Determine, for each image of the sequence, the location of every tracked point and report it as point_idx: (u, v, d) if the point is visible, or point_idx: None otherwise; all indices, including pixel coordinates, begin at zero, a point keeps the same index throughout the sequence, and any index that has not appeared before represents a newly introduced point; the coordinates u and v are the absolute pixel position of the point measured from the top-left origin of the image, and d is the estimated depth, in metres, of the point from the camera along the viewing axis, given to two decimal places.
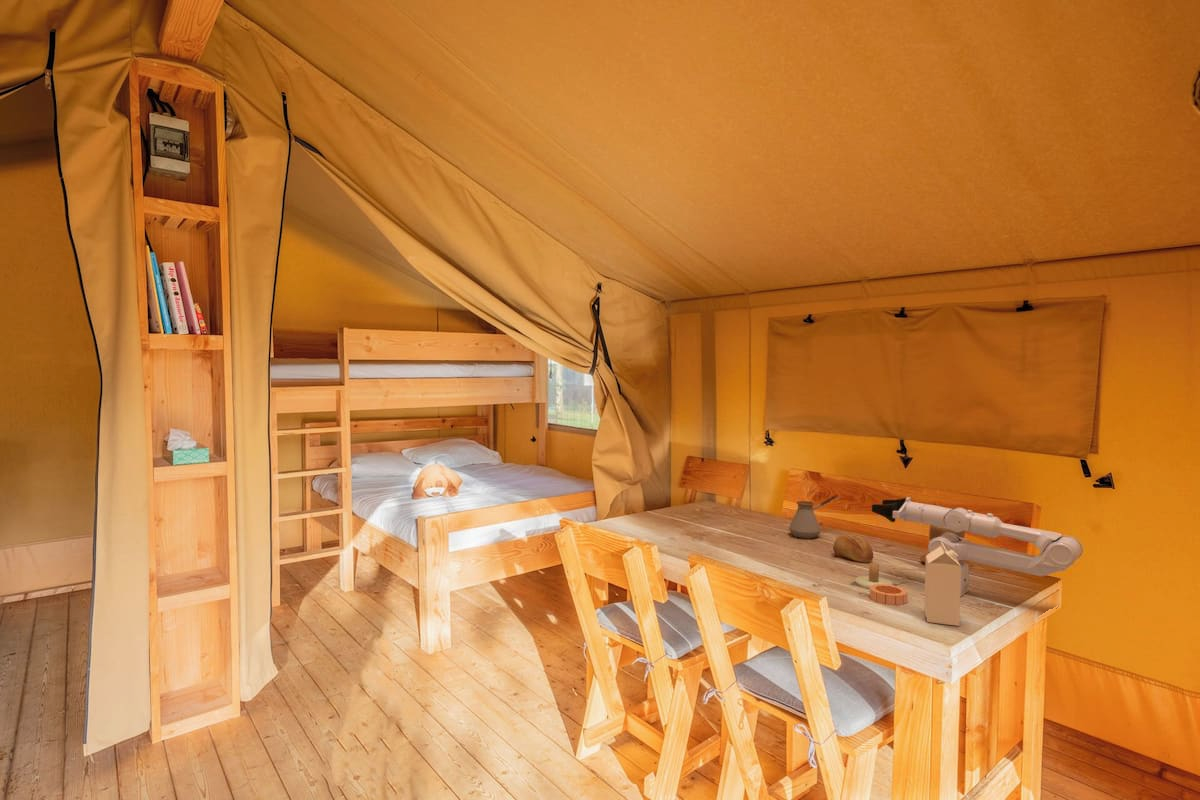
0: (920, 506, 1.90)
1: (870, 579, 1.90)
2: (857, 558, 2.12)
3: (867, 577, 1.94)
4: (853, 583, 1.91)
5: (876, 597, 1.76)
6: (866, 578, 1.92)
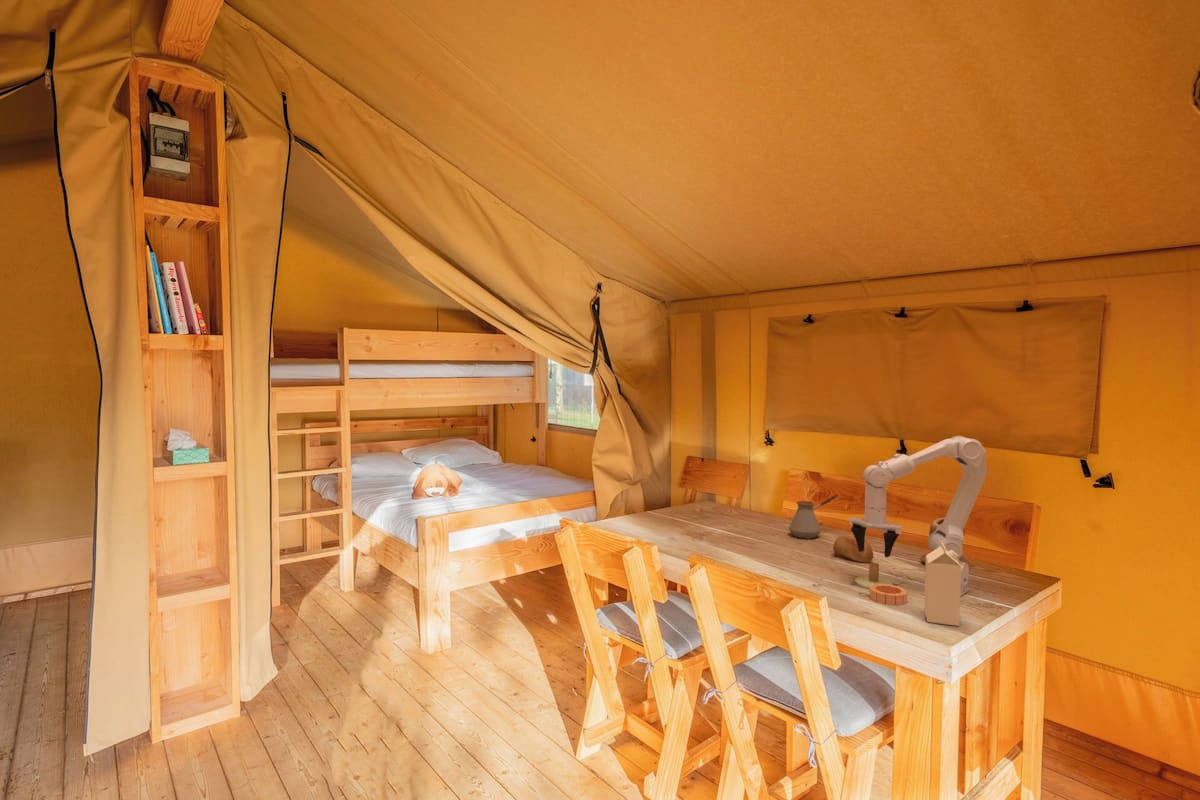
0: (877, 511, 1.87)
1: (870, 579, 1.90)
2: (857, 558, 2.12)
3: (867, 577, 1.94)
4: (853, 583, 1.91)
5: (876, 597, 1.76)
6: (866, 578, 1.92)
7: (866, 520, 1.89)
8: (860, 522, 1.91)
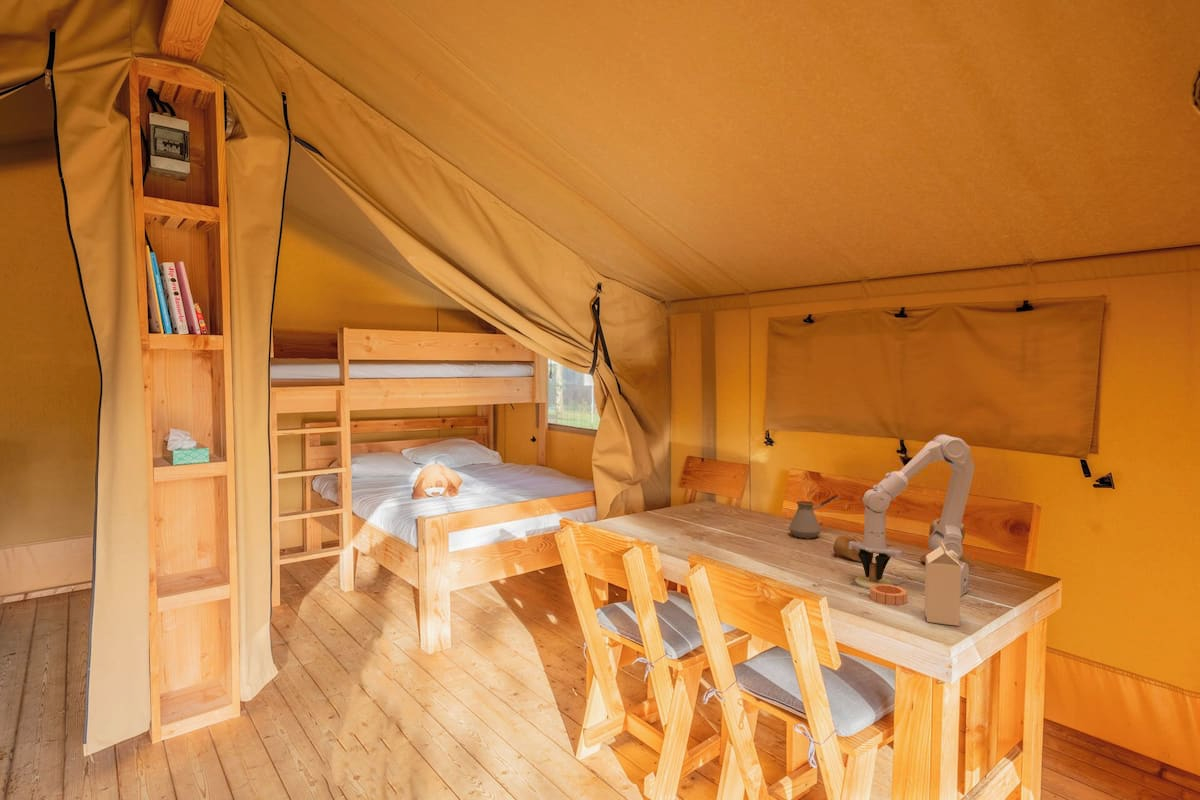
0: (876, 536, 1.87)
1: (870, 579, 1.90)
2: (857, 558, 2.12)
3: (867, 577, 1.94)
4: (853, 583, 1.91)
5: (876, 597, 1.76)
6: (866, 578, 1.92)
7: (865, 544, 1.90)
8: (860, 546, 1.91)
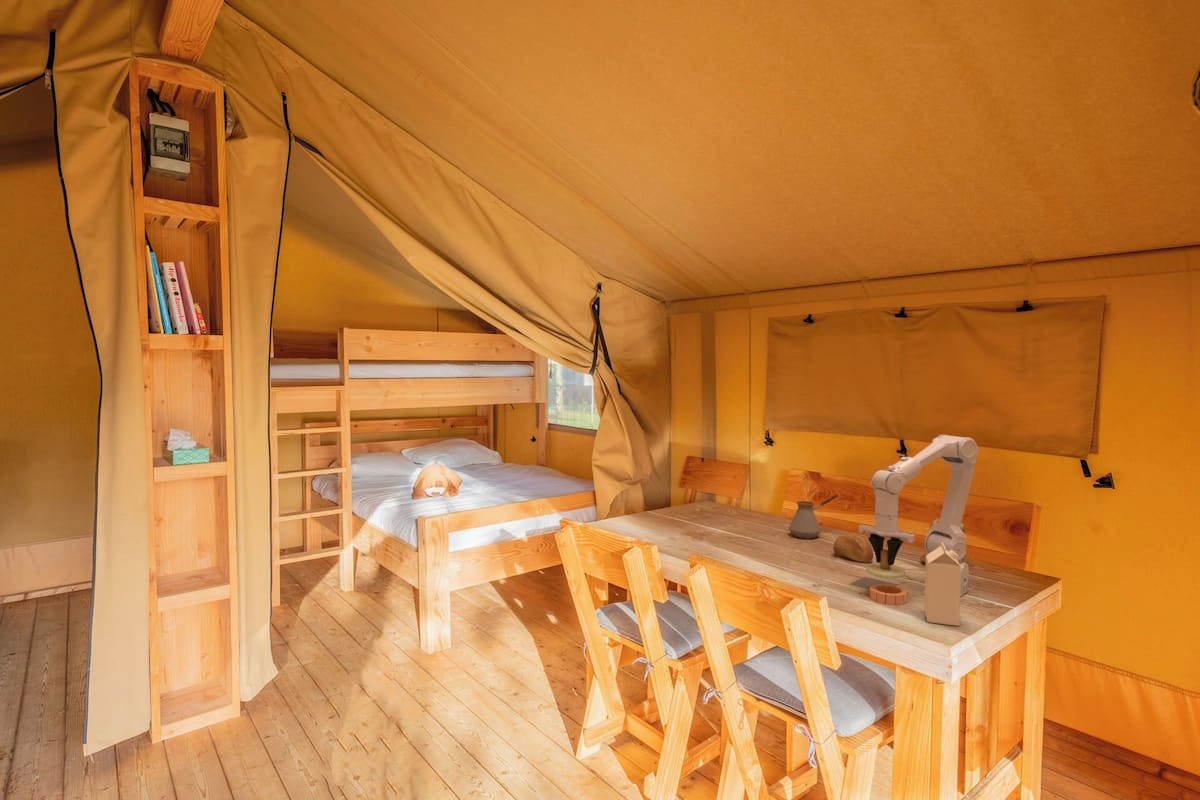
0: (888, 519, 1.78)
1: (882, 567, 1.81)
2: (857, 558, 2.12)
3: (877, 565, 1.84)
4: (853, 583, 1.91)
5: (876, 597, 1.76)
6: (876, 566, 1.83)
7: (877, 528, 1.80)
8: (870, 530, 1.82)
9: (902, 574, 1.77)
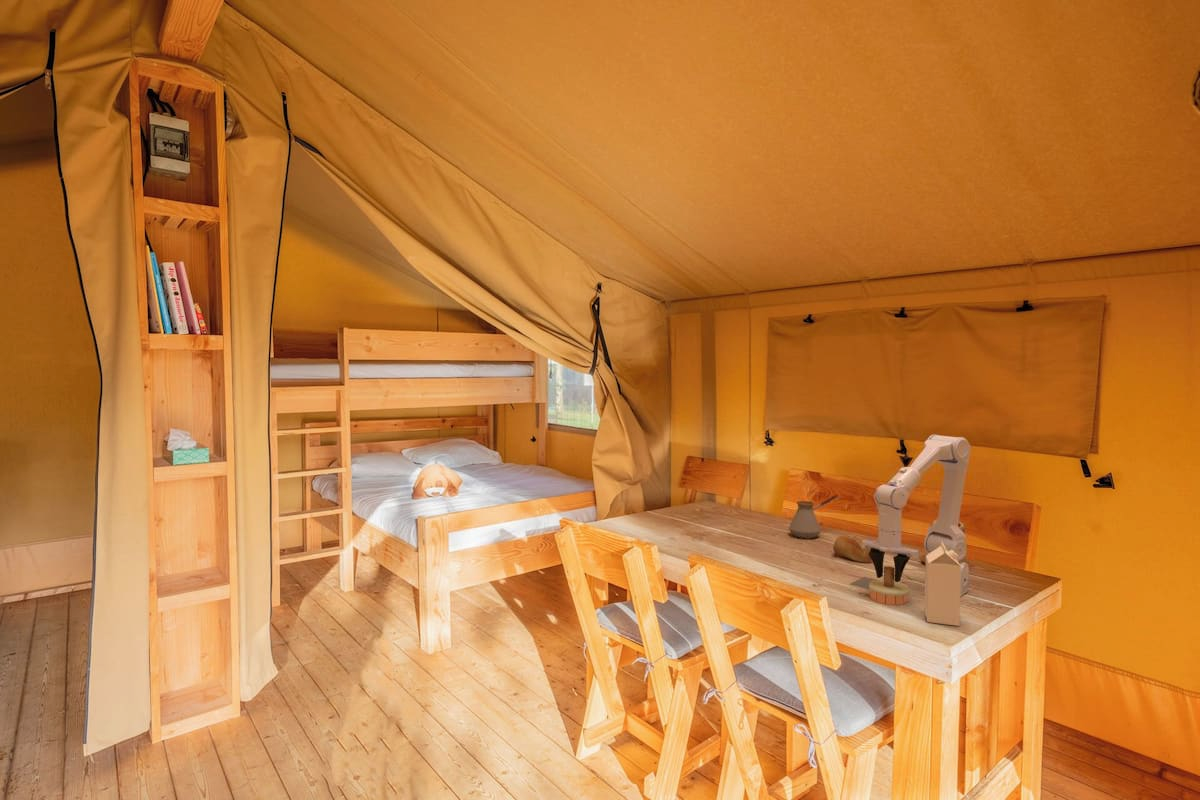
0: (891, 534, 1.75)
1: (885, 584, 1.78)
2: (857, 558, 2.12)
3: (880, 582, 1.82)
4: (853, 583, 1.91)
5: (876, 597, 1.76)
6: (880, 583, 1.80)
7: (880, 543, 1.77)
8: (873, 545, 1.79)
9: (906, 592, 1.75)
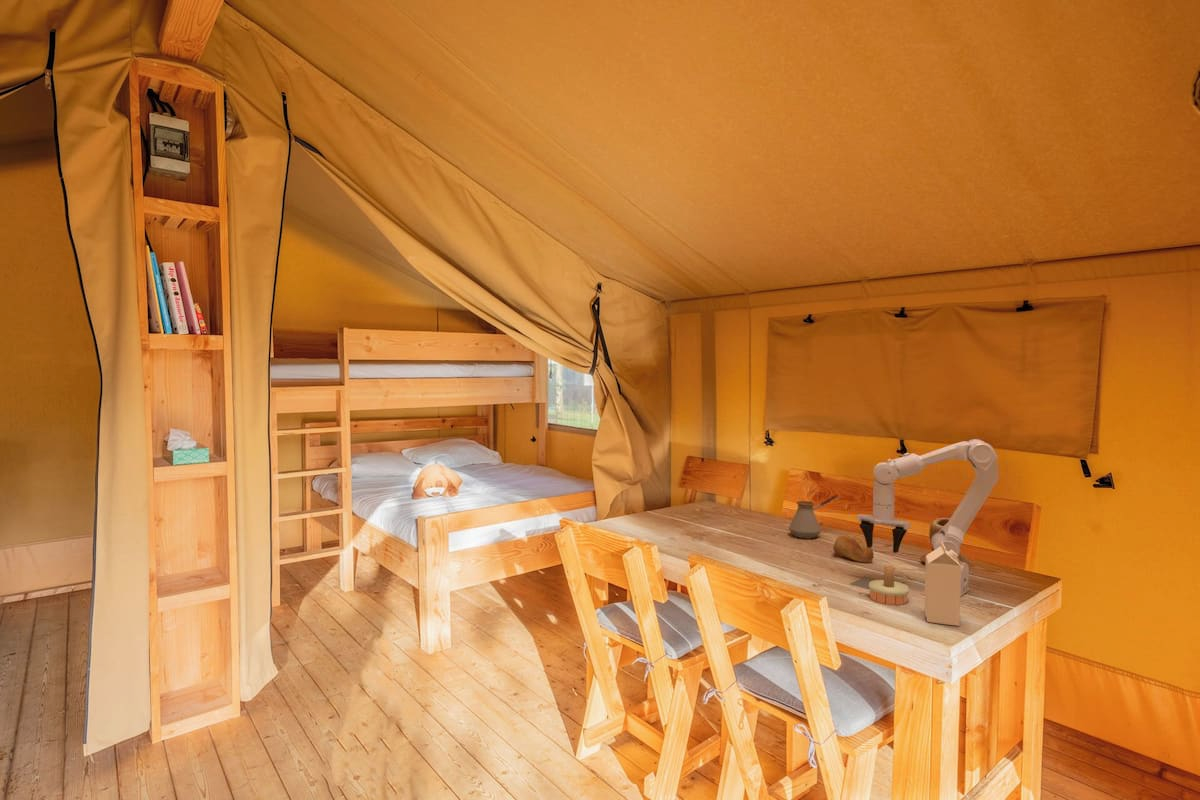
0: (885, 507, 1.90)
1: (885, 584, 1.78)
2: (857, 558, 2.12)
3: (880, 582, 1.82)
4: (853, 583, 1.91)
5: (876, 597, 1.76)
6: (880, 583, 1.80)
7: (875, 516, 1.92)
8: (869, 518, 1.94)
9: (906, 592, 1.75)
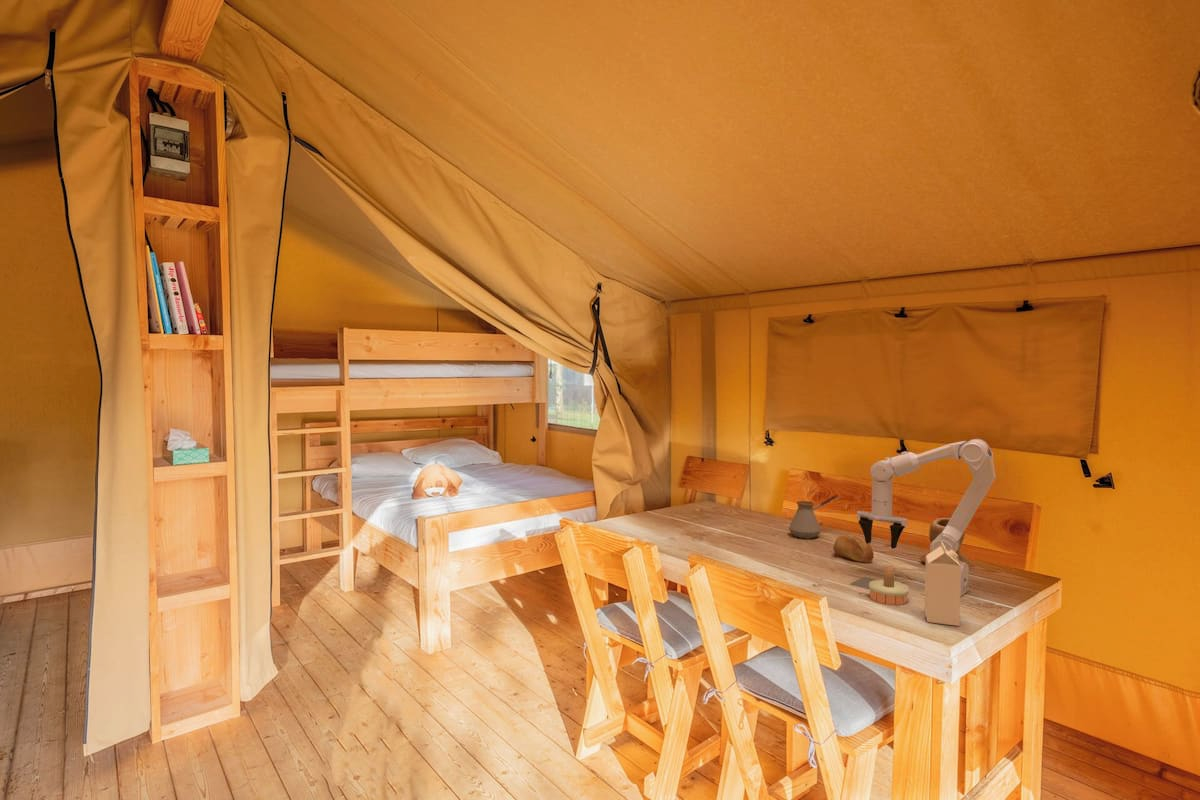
0: (883, 504, 1.95)
1: (885, 584, 1.78)
2: (857, 558, 2.12)
3: (880, 582, 1.82)
4: (853, 583, 1.91)
5: (876, 597, 1.76)
6: (880, 583, 1.80)
7: (873, 513, 1.97)
8: (867, 515, 1.99)
9: (906, 592, 1.75)
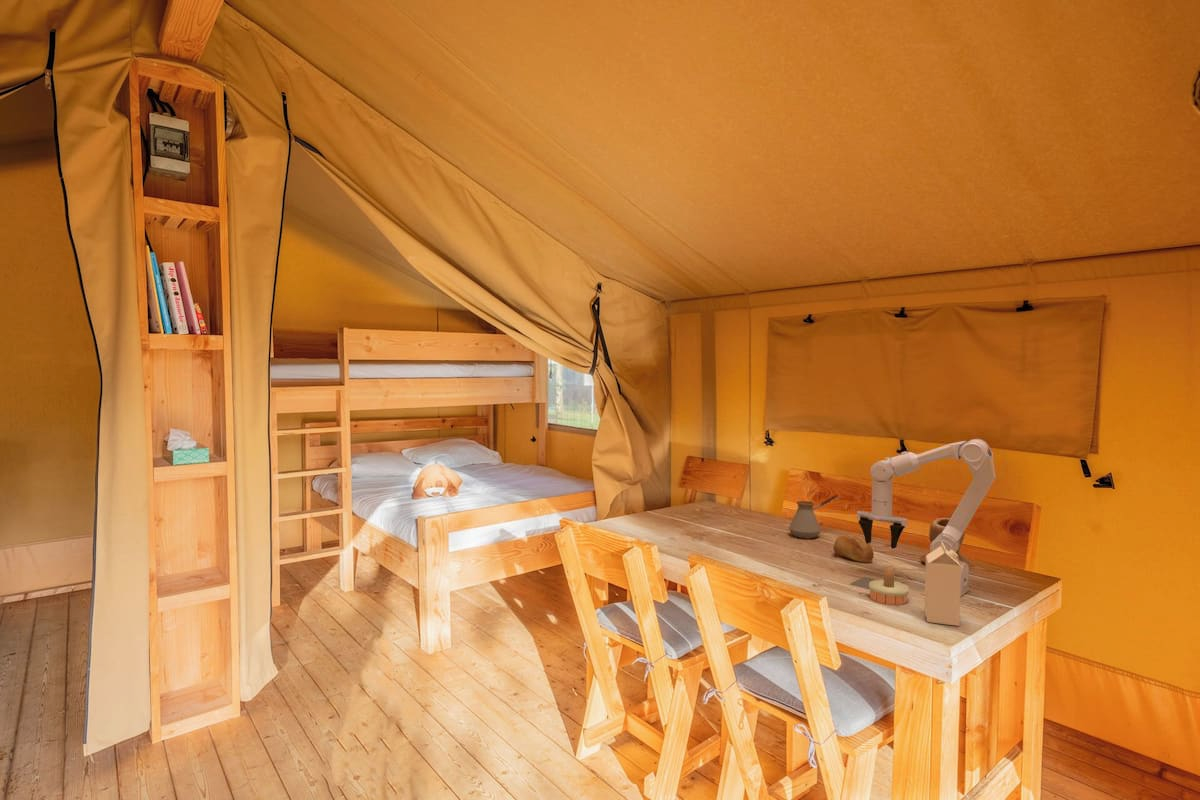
0: (883, 504, 1.95)
1: (885, 584, 1.78)
2: (857, 558, 2.12)
3: (880, 582, 1.82)
4: (853, 583, 1.91)
5: (876, 597, 1.76)
6: (880, 583, 1.80)
7: (873, 513, 1.97)
8: (867, 515, 1.99)
9: (906, 592, 1.75)
